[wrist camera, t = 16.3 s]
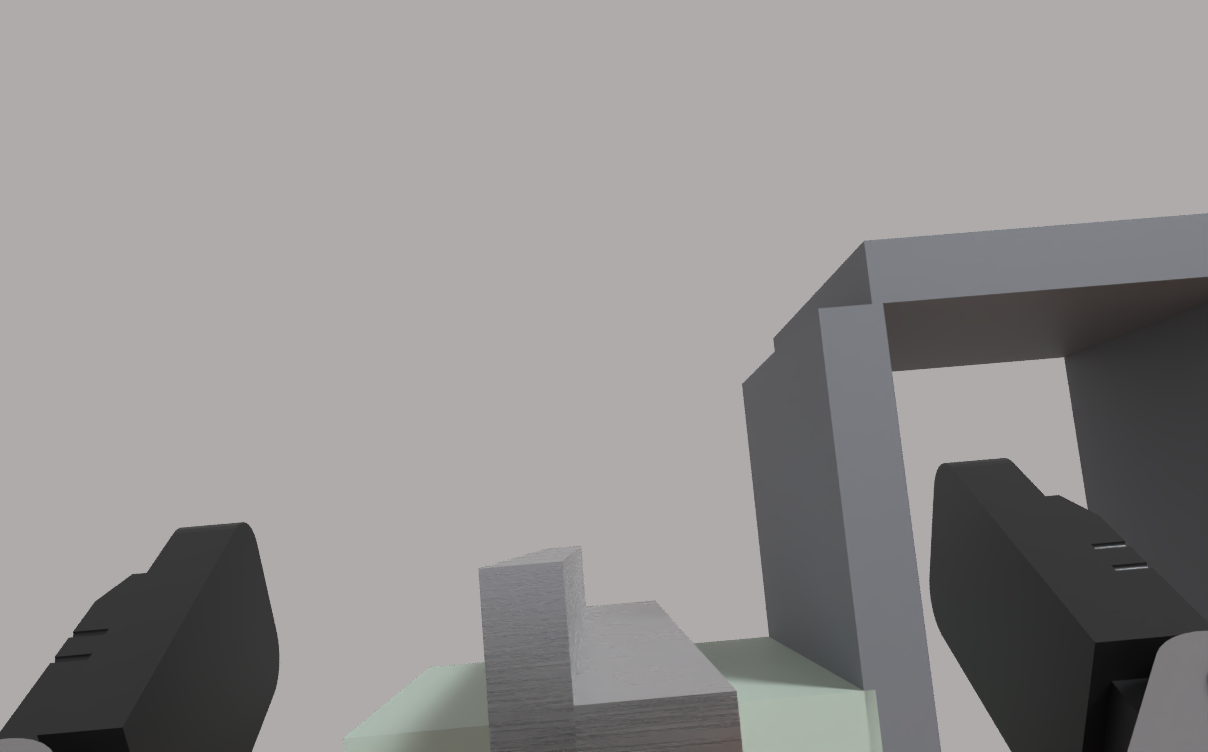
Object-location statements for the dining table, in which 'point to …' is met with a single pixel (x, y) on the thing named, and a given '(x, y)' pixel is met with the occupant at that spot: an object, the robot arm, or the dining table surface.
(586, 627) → the bracket
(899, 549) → the step stand
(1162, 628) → the robot arm
